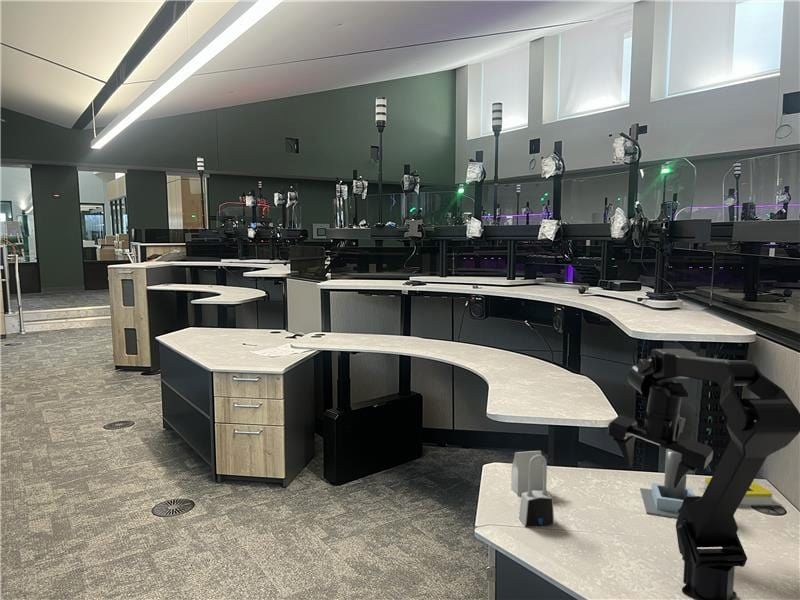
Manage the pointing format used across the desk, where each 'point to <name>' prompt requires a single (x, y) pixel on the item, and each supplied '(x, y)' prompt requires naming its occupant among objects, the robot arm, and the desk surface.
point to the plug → (673, 476)
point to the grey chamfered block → (526, 472)
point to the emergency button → (752, 495)
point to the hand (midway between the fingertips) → (652, 477)
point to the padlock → (536, 502)
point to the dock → (662, 501)
